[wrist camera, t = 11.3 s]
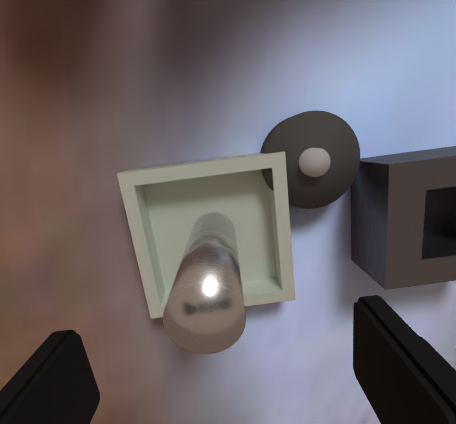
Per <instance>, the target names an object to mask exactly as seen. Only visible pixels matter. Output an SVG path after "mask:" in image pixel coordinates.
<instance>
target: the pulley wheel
mask: <svg viewBox="0 0 456 424" xmlns="http://www.w3.org/2000/svg"><path fill="white" fill-rule="evenodd" d="M277 152H285V157H286V172H287V186H288V201H289V204H290V205H292V206H295V207H298V208H306V209H311V208H318V207H322V206H325V205H328V204H330V203H332V202H333V201H335V200H337V199H338V198H339V197H341V196H342V195H343V194H344V193H345V192H346V191H347V190H348V188H349V187H350V186H351V184H352V182H353V181H354V179H355V177H356V174H357V171H358V168H359V163H360V148H359V143H358V140H357V137H356V135H355V133H354V131H353V130H352V129H351V127H350V126H349V125H348V124H347V123H346V122H345V121H344V120H343V119H341V118H340V117H338V116H336V115H334V114H332V113H329V112H324V111H308V112H303V113H300V114H298V115H295V116H292V117H290V118H287V119H285V120H283V121H282V122H280V123H279V124H278V125H276V126H275V127H274V128H273V129H272V130H271V132H270V133H269V134H268V136H267V137H266V139H265V141H264V143H263V145H262V148H261V152H260V153H263V154H269V153H277ZM261 170H262V174H263V178H264V180H265V182H266V184H267V185H268V187H269V188H270V189H271V190H272V191H273V180H272V168H266V169H261Z"/></svg>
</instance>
